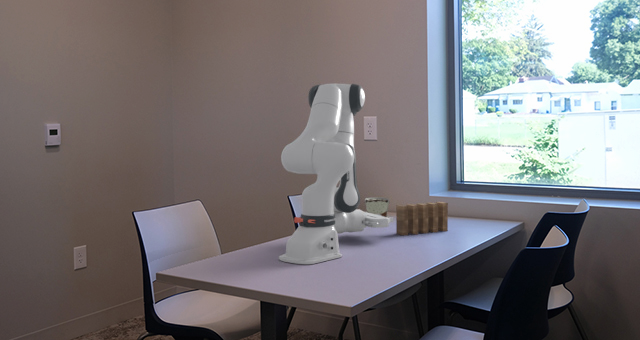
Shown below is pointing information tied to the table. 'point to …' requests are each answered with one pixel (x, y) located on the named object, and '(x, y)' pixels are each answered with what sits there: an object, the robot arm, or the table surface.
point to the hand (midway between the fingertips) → (386, 217)
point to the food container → (377, 206)
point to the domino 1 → (402, 220)
